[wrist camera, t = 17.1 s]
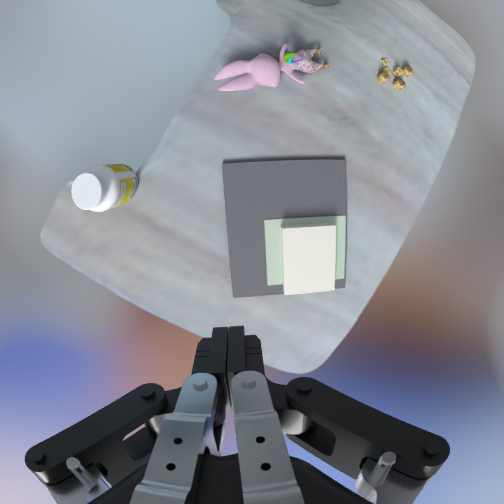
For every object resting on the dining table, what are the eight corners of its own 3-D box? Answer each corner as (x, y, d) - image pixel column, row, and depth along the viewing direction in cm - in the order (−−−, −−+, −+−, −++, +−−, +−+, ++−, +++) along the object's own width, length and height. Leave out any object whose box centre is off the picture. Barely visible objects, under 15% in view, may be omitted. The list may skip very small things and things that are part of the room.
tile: (335, 225, 36) (334, 290, 38) (332, 223, 37) (331, 285, 40) (282, 228, 35) (284, 295, 38) (280, 226, 37) (282, 290, 40)
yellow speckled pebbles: (407, 72, 32) (414, 69, 30) (400, 97, 34) (407, 95, 32) (380, 55, 32) (386, 51, 30) (372, 80, 33) (378, 77, 31)
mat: (222, 164, 35) (222, 164, 35) (344, 159, 35) (345, 159, 35) (233, 296, 40) (233, 298, 40) (343, 286, 40) (344, 287, 40)
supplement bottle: (98, 176, 34) (59, 181, 25) (129, 157, 34) (95, 155, 25) (113, 210, 36) (78, 224, 27) (145, 192, 36) (115, 201, 26)
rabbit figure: (308, 46, 32) (206, 69, 30) (326, 28, 26) (209, 49, 25) (325, 82, 34) (223, 109, 32) (346, 69, 28) (229, 95, 27)
